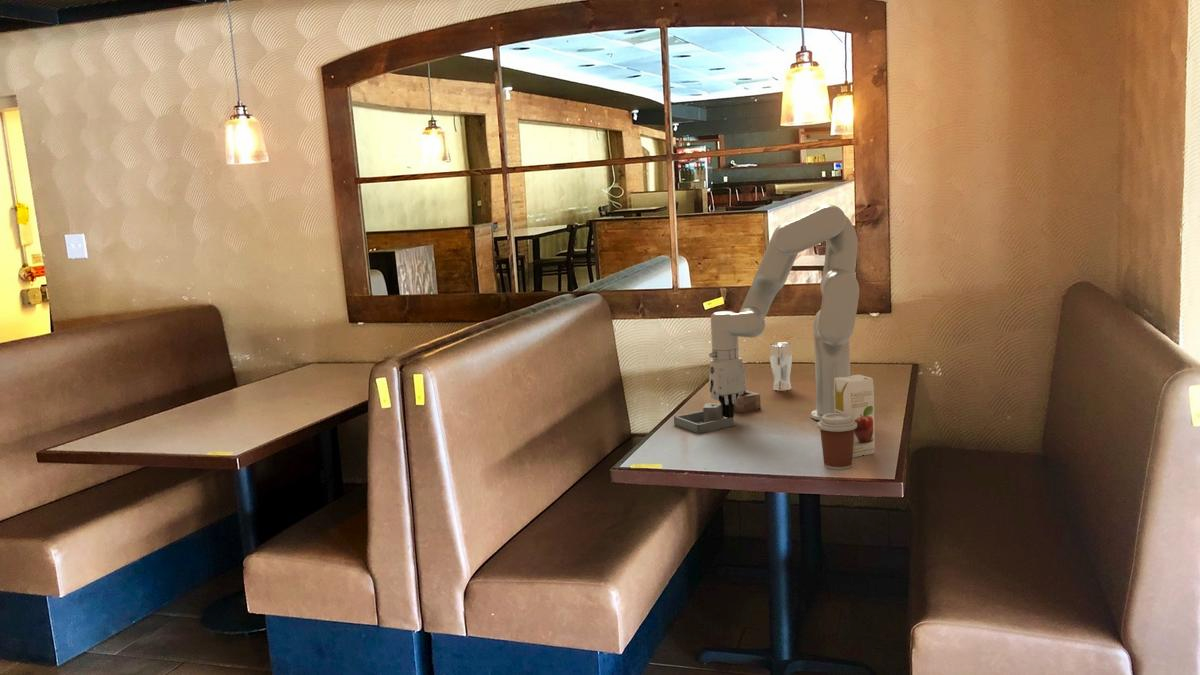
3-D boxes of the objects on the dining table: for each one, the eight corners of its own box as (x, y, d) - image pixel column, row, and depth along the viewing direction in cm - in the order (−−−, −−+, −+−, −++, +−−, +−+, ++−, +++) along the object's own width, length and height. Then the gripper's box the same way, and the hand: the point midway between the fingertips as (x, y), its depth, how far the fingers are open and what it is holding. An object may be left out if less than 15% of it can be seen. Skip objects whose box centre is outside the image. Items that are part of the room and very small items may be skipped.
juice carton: (831, 452, 228) (829, 377, 225) (860, 446, 230) (858, 372, 227) (849, 459, 221) (848, 382, 218) (879, 454, 223) (878, 377, 220)
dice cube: (723, 420, 265) (722, 403, 264) (721, 424, 260) (720, 407, 260) (706, 420, 267) (705, 403, 266) (703, 424, 262) (703, 407, 261)
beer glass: (791, 386, 303) (790, 341, 300) (794, 391, 296) (792, 345, 294) (770, 387, 303) (768, 342, 301) (772, 392, 297) (770, 346, 294)
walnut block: (760, 408, 276) (760, 393, 275) (739, 412, 273) (738, 398, 272) (744, 403, 283) (744, 389, 282) (723, 408, 280) (722, 393, 279)
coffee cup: (835, 457, 223) (834, 409, 221) (866, 465, 216) (865, 415, 214) (810, 466, 218) (808, 417, 216) (841, 474, 210) (839, 423, 208)
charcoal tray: (733, 425, 258) (733, 417, 258) (698, 433, 253) (697, 424, 252) (708, 417, 269) (708, 409, 269) (674, 424, 264) (673, 416, 263)
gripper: (711, 359, 255) (714, 423, 258) (754, 352, 262) (757, 414, 265) (696, 356, 262) (699, 418, 265) (739, 349, 268) (741, 410, 271)
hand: (728, 416), depth 265 cm, fingers closed
